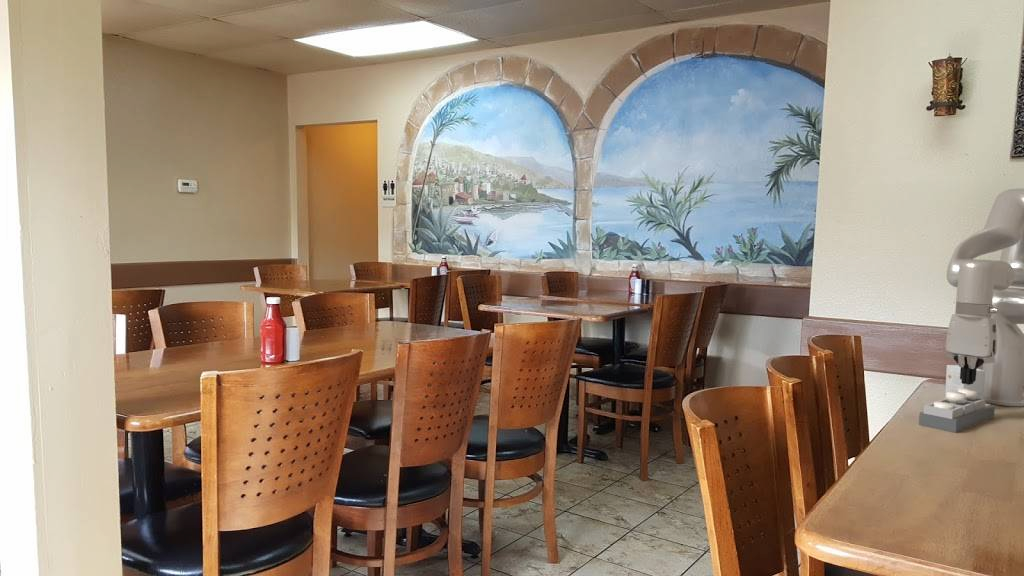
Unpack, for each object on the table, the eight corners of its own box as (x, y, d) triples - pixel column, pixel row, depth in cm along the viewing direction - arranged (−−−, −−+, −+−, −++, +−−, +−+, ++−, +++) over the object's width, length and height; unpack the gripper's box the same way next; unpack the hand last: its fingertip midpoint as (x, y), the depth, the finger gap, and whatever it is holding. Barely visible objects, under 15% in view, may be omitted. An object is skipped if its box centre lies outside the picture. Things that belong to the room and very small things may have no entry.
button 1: (937, 409, 171) (938, 400, 171) (955, 412, 168) (956, 404, 168) (930, 411, 169) (931, 403, 169) (949, 415, 166) (949, 406, 166)
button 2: (961, 395, 180) (961, 387, 180) (979, 398, 177) (979, 390, 176) (954, 397, 177) (955, 389, 177) (972, 400, 174) (973, 392, 174)
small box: (983, 410, 186) (986, 370, 185) (961, 409, 186) (964, 370, 185) (964, 402, 194) (967, 364, 193) (943, 402, 194) (946, 364, 193)
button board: (958, 410, 185) (960, 391, 184) (994, 417, 179) (995, 398, 178) (918, 424, 170) (920, 404, 170) (955, 432, 164) (957, 411, 163)
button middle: (949, 398, 175) (950, 390, 175) (967, 401, 172) (968, 393, 172) (943, 400, 173) (943, 392, 173) (961, 404, 170) (962, 396, 170)
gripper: (1013, 313, 171) (1007, 387, 173) (946, 307, 183) (940, 377, 185) (1002, 314, 167) (996, 391, 168) (934, 308, 179) (928, 379, 180)
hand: (967, 383), depth 176 cm, fingers closed
